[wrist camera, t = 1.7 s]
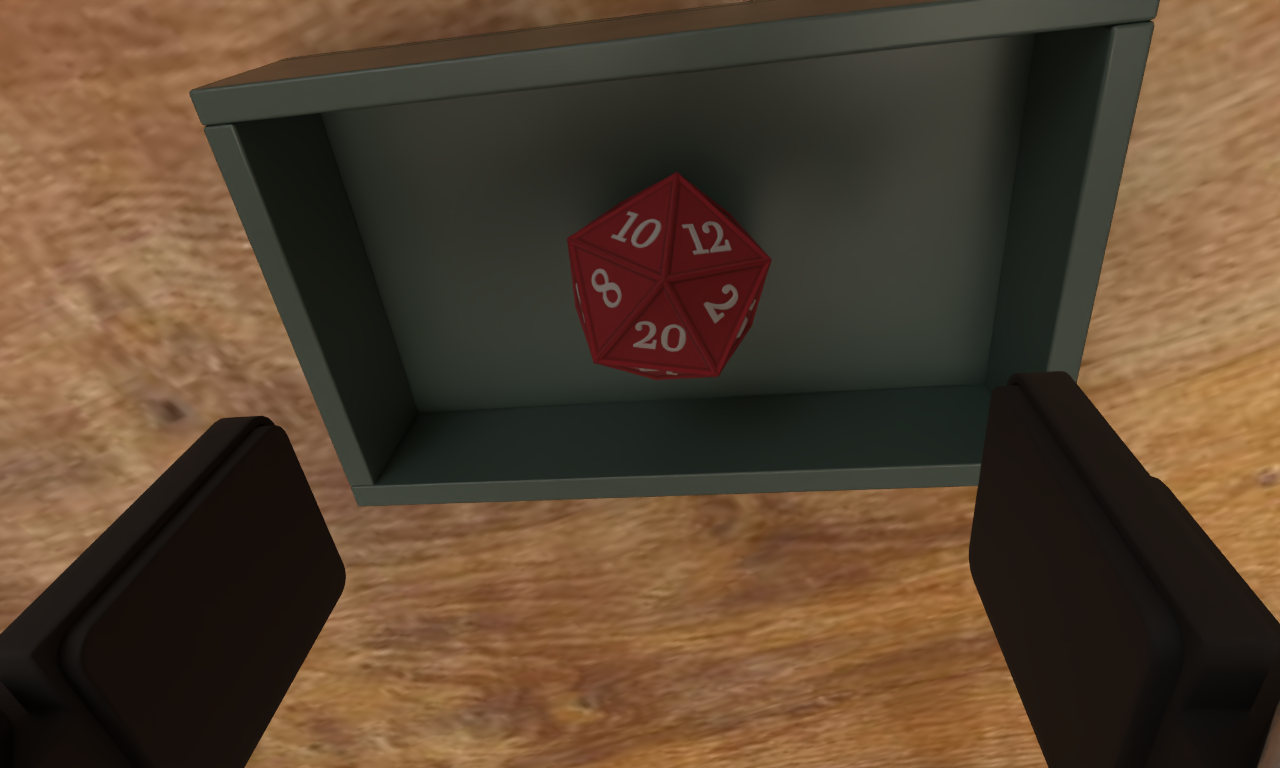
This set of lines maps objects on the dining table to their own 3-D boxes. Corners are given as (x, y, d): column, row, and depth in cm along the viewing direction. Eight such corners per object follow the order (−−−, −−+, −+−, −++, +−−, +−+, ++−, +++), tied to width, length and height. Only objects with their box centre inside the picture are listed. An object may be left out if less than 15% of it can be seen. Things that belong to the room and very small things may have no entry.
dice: (583, 326, 18) (550, 424, 14) (590, 134, 15) (554, 196, 12) (742, 344, 18) (747, 446, 14) (774, 152, 15) (790, 220, 12)
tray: (285, 58, 15) (185, 90, 13) (1071, -40, 13) (1168, -27, 10) (409, 423, 20) (357, 507, 17) (1002, 394, 18) (1055, 484, 15)
